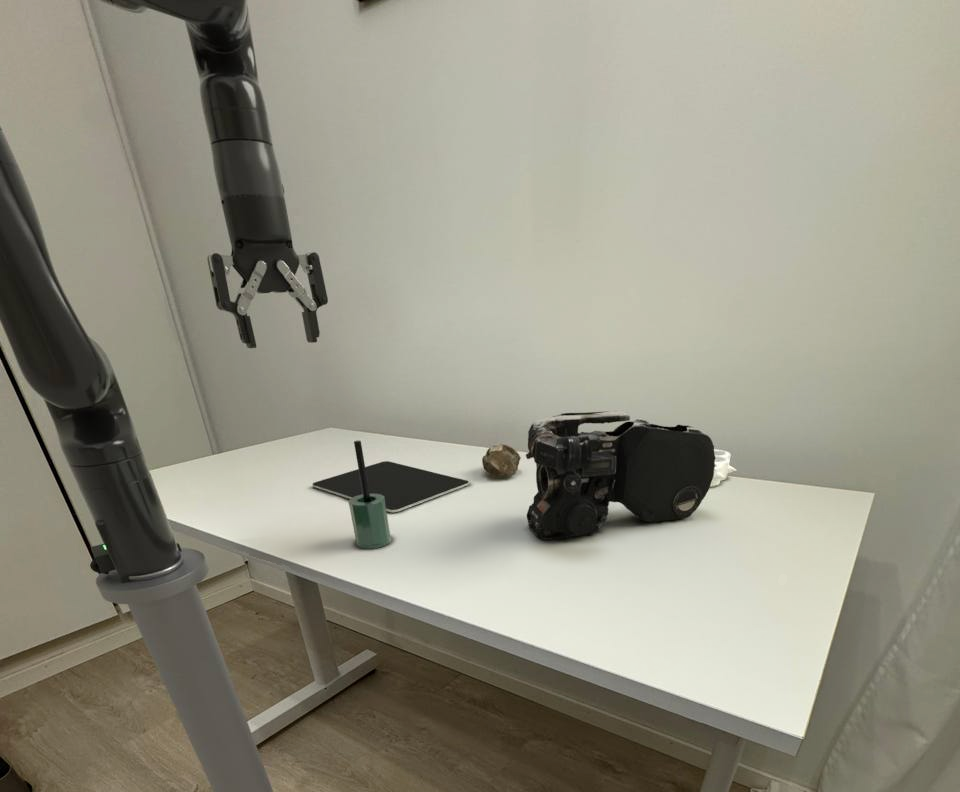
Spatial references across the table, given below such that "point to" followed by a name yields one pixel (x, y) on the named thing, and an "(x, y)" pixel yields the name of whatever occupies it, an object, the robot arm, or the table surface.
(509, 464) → the brown rock
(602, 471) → the movie camera
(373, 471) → the tablet
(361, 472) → the stylus
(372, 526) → the holder
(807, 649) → the table surface
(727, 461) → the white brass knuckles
